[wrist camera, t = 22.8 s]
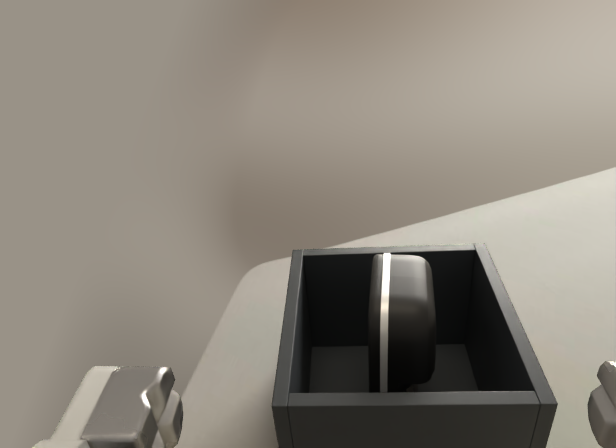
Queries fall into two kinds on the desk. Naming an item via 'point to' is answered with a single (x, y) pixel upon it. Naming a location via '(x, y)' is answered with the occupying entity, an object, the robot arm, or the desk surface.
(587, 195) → the desk surface
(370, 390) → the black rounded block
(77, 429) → the robot arm
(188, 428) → the desk surface
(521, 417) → the trash bin
